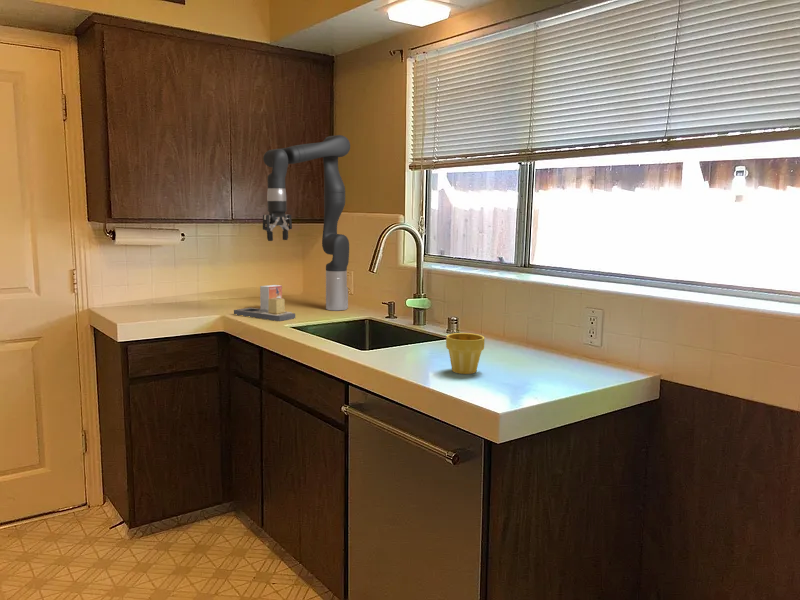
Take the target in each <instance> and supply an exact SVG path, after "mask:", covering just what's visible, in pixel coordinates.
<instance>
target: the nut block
mask: <svg viewBox="0 0 800 600" xmlns="http://www.w3.org/2000/svg"><path fill="white" fill-rule="evenodd" d="M285 303H286V302H285V298H283V297H282V298H271V299H268V311H269V313H271V314H281V313H285V311H286V310H285V309H286V308H285Z"/></svg>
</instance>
